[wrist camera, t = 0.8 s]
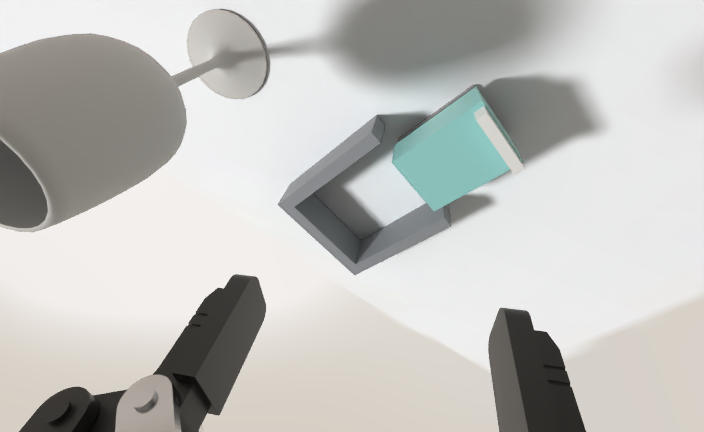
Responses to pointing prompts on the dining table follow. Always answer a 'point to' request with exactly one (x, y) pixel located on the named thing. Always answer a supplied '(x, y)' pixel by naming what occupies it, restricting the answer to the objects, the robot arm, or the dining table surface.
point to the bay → (333, 230)
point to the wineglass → (104, 114)
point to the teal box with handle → (456, 150)
